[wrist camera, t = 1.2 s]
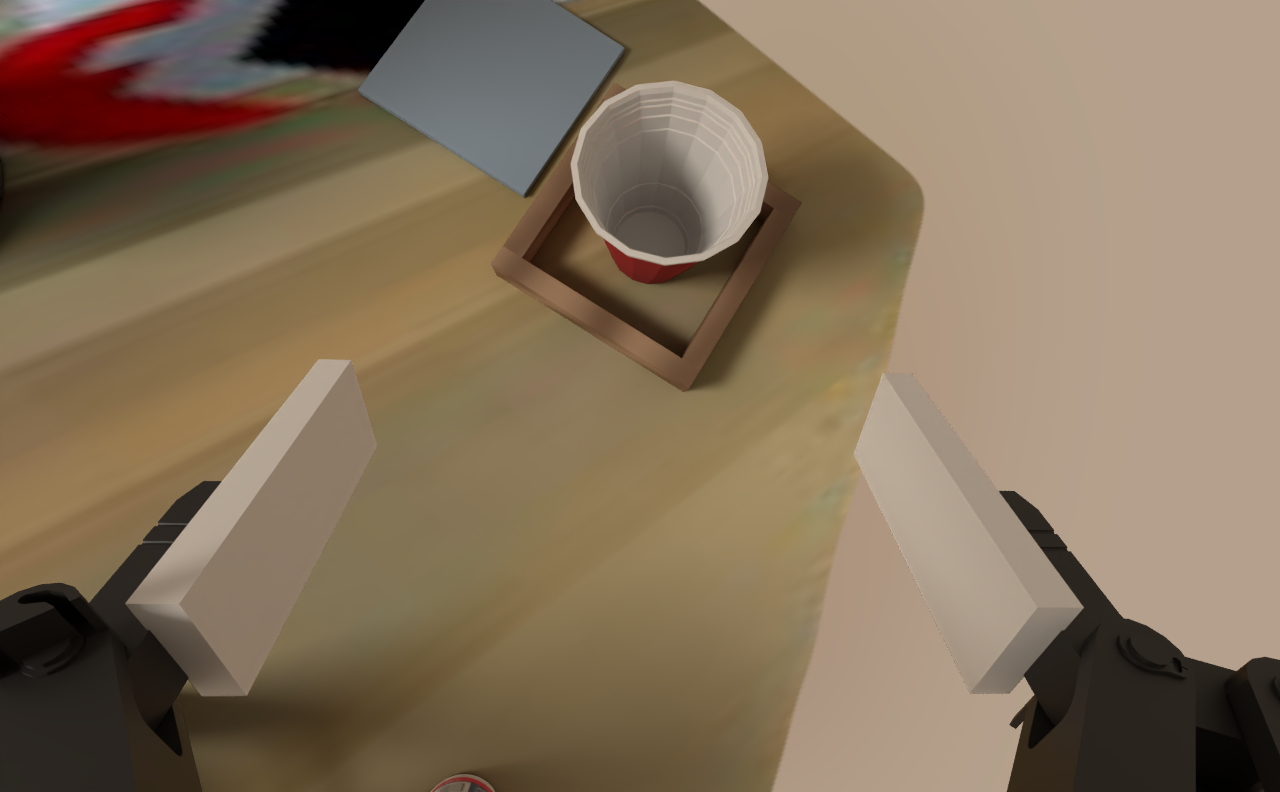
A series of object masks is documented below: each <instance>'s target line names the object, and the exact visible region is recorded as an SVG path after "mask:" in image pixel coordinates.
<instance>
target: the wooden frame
mask: <svg viewBox="0 0 1280 792" xmlns="http://www.w3.org/2000/svg"><path fill="white" fill-rule="evenodd" d="M625 90H626V89H624V88H623V87H621V86H620V85H618V84H617V83H614V84H613V86H612V87H611V88H610V90H609V91H608V93H607V94H606V96H605V97H604V99H603V100H602V102H601V103H600V105H599V106H598V108H599V107H600V106H601V105H602V103H603V102H604V101H606V100H608V99H610V98H612V97H614V96H616V95H618V94H620V93H621V92H623V91H625ZM598 108H597V109H598ZM597 109H596V110H597ZM596 110H595V112H596ZM595 112H594V113H595ZM594 113H593V114H594ZM578 137H579V135H578ZM578 137H577V138H576V140H575V141H574V143H573V144H572V146H571V147H570V149H569V150H568V152H567V153H566V155H565V156H564V157H563V159H562V160H561V162H560V163H559V165H558V166H557V168H556V169H555V171H554V172H553V174H552V175H551V177H550V178H549V180H548V181H547V182H546V184H545V185H544V187H543V188H542V190H541V191H540V193H539V194H538V196H537V197H536V199H535V200H534V202H533V203H532V204H531V206H530V207H529V209H528V210H527V212H526V213H525V215H524V216H523V218H522V219H521V221H520V222H519V224H518V225H517V227H516V228H515V229H514V231H513V232H512V234H511V235H510V237H509V238H508V240H507V241H506V243H505V244H504V246H503V247H502V249H501V250H500V252H499V253H498V254H497V256H496V257H495V259H494V260H493V262H492V263H491V265H492V267H493V269H494V271H495V273H496V275H497V276H499V277H501V278H502V279H504V280H505V281H507V282H509V283H510V284H512V285H513V286H515V287H517V288H518V289H520V290H521V291H523V292H525V293H526V294H528V295H529V296H531V297H533V298H534V299H536V300H537V301H539V302H541V303H542V304H544V305H545V306H547V307H549V308H550V309H552V310H553V311H555V312H557V313H558V314H560V315H561V316H563V317H565V318H566V319H568V320H569V321H571V322H573V323H574V324H576V325H577V326H579V327H581V328H582V329H584V330H585V331H587V332H589V333H590V334H592V335H593V336H595V337H597V338H598V339H600V340H601V341H603V342H605V343H606V344H608V345H609V346H611V347H613V348H614V349H616V350H617V351H619V352H621V353H622V354H624V355H625V356H627V357H629V358H630V359H632V360H633V361H635V362H637V363H638V364H640V365H641V366H643V367H645V368H646V369H648V370H649V371H651V372H652V373H654V374H656V375H657V376H659V377H660V378H662V379H664V380H665V381H667V382H668V383H670V384H672V385H673V386H675V387H676V388H678V389H680V390H681V391H683V392H684V391H685V390H687V389H689V388H690V386H691V385H692V383H693V381H694V380H695V378H696V376H697V375H698V373H699V371H700V370H701V368H702V366H703V365H704V363H705V361H706V360H707V358H708V357H709V355H710V353H711V352H712V350H713V348H714V347H715V345H716V343H717V342H718V340H719V338H720V337H721V335H722V333H723V332H724V330H725V329H726V327H727V325H728V324H729V322H730V320H731V319H732V317H733V315H734V314H735V312H736V310H737V309H738V307H739V305H740V304H741V302H742V300H743V299H744V297H745V296H746V294H747V292H748V291H749V289H750V287H751V286H752V284H753V282H754V281H755V279H756V277H757V276H758V274H759V272H760V271H761V269H762V267H763V266H764V264H765V263H766V261H767V259H768V258H769V256H770V254H771V253H772V251H773V249H774V248H775V246H776V244H777V243H778V241H779V239H780V238H781V236H782V234H783V233H784V231H785V230H786V228H787V226H788V225H789V223H790V221H791V220H792V218H793V216H794V215H795V213H796V211H797V210H798V208H799V206H800V205H801V202H800V201H798V200H797V199H795V198H794V197H792V196H791V195H789V194H787V193H786V192H784V191H783V190H781V189H780V188H778V187H777V186H775V185H773V184H772V183H770V182H769V181H767V185H766V190H765V194H764V198H763V202H762V207H761V211H760V213H759V214H758V216H757V218H758V219H760V220H762V221H763V223H762V225H761V227H760V228H759V230H758V232H757V233H756V235H755V237H754V238H753V240H752V241H751V243H750V245H749V246H748V248H747V250H746V251H745V253H744V254H743V256H742V258H741V259H740V261H739V263H738V264H737V266H736V267H735V269H734V271H733V272H732V274H731V276H730V277H729V279H728V281H727V282H726V284H725V285H724V287H723V289H722V290H721V292H720V294H719V295H718V297H717V298H716V300H715V302H714V303H713V305H712V307H711V308H710V310H709V311H708V313H707V315H706V316H705V318H704V320H703V321H702V323H701V325H700V326H699V328H698V329H697V331H696V333H695V334H694V336H693V338H692V339H691V341H690V342H689V344H688V346H687V347H686V349H685V351H684V352H683V354H682V355H681V357H679V356H677V355H676V354H674V353H673V352H671V351H669V350H668V349H666V348H665V347H663V346H661V345H660V344H658V343H657V342H655V341H653V340H652V339H650V338H649V337H647V336H645V335H644V334H642V333H641V332H639V331H637V330H636V329H634V328H633V327H631V326H630V325H628V324H626V323H625V322H623V321H622V320H620V319H618V318H617V317H615V316H614V315H612V314H610V313H609V312H607V311H606V310H604V309H602V308H601V307H599V306H598V305H596V304H594V303H593V302H591V301H590V300H588V299H587V298H585V297H583V296H582V295H580V294H579V293H577V292H575V291H574V290H572V289H571V288H569V287H567V286H566V285H564V284H563V283H561V282H559V281H558V280H556V279H555V278H553V277H551V276H550V275H548V274H547V273H545V272H544V271H542V270H540V269H539V268H537V267H536V266H534V265H532V264H531V263H530V262H531V261H532V259H533V258H534V256H535V255H536V253H537V252H538V250H539V249H540V247H541V246H542V244H543V243H544V241H545V240H546V238H547V237H548V235H549V234H550V232H551V231H552V229H553V228H554V226H555V225H556V223H557V222H558V220H559V219H560V217H561V216H562V214H563V213H564V211H565V210H566V208H567V207H568V205H569V204H570V202H571V201H572V199H573V198H574V196H575V192H574V184H573V177H572V170H571V160H572V157H573V154H574V150H575V147H576V143H577V140H578Z"/></svg>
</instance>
